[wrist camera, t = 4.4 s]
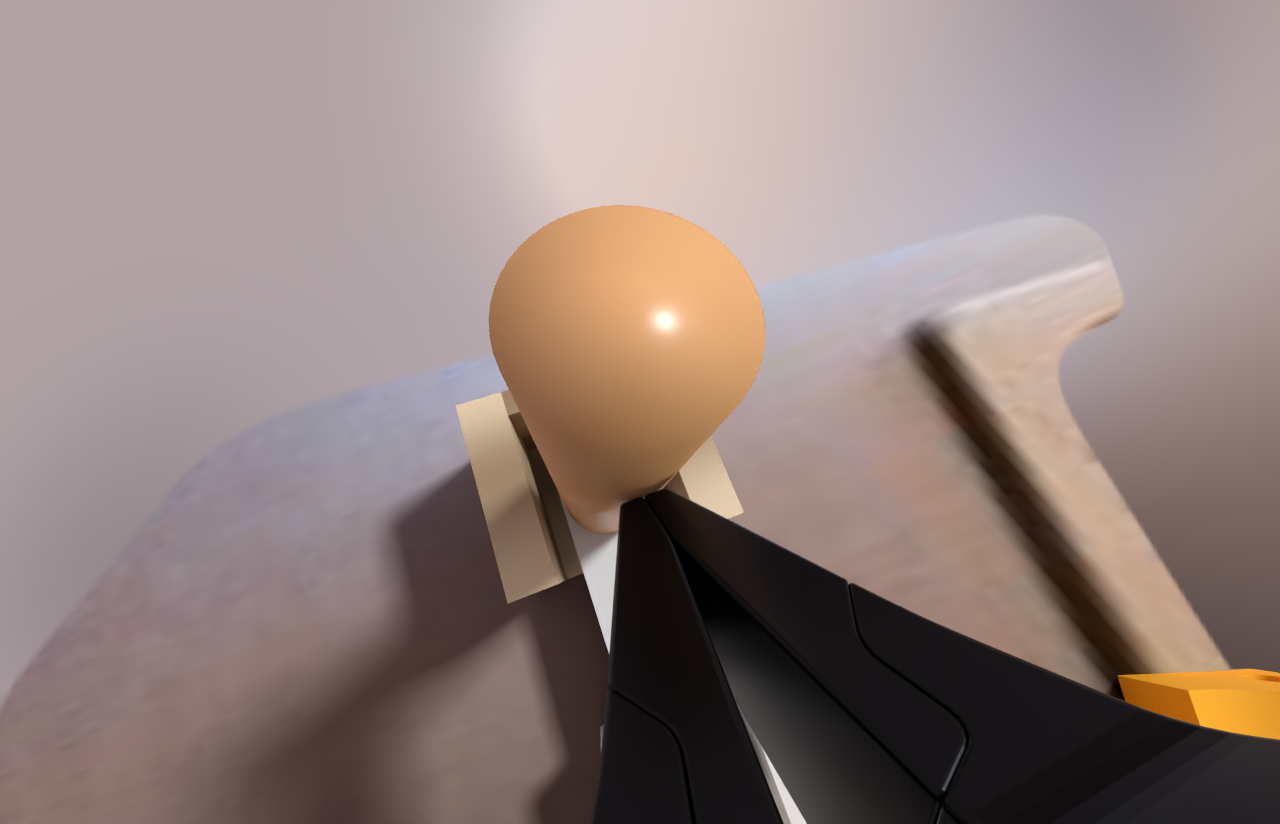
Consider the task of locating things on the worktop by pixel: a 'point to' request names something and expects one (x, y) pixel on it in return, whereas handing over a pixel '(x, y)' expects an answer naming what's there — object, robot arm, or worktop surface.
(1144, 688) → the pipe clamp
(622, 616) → the robot arm
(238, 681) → the worktop surface
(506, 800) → the worktop surface
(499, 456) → the socket
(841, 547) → the worktop surface
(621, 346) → the slide bolt
